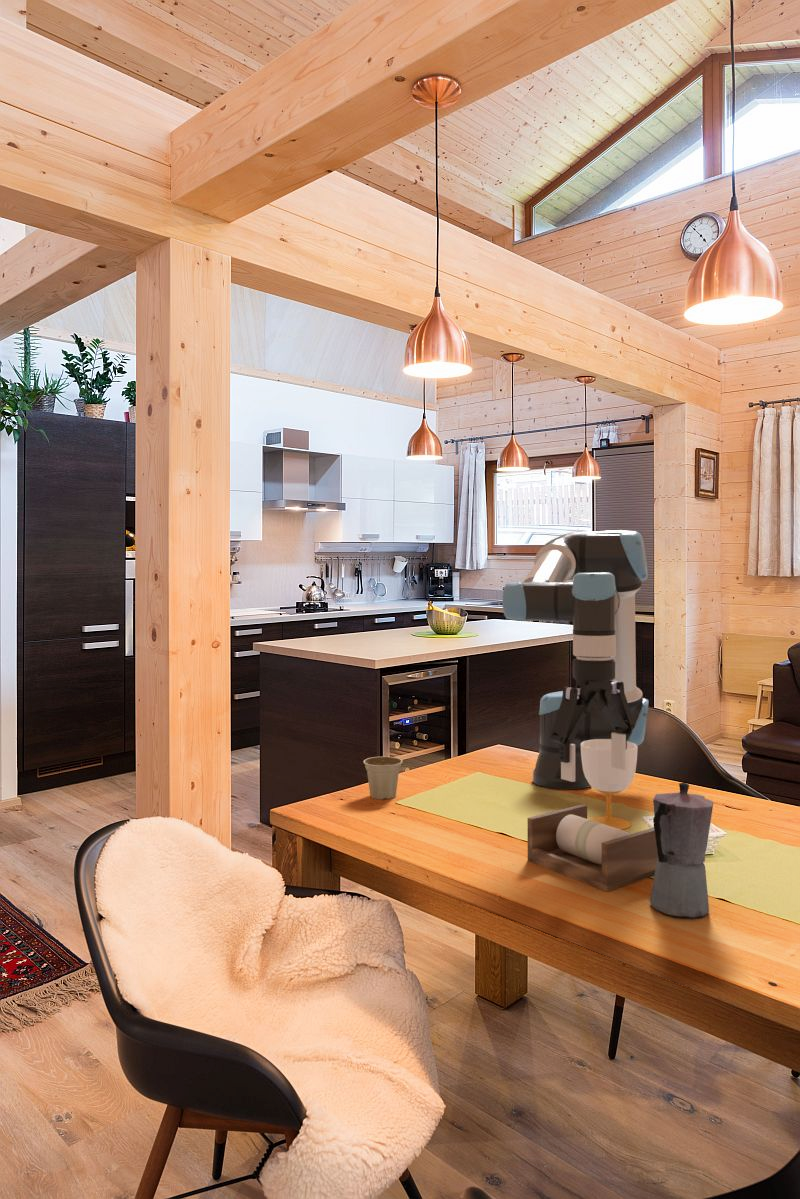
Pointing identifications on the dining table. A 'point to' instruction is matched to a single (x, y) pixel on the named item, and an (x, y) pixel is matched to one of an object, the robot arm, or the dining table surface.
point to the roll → (585, 837)
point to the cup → (608, 774)
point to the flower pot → (383, 776)
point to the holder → (619, 861)
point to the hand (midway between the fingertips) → (594, 774)
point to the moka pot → (681, 853)
